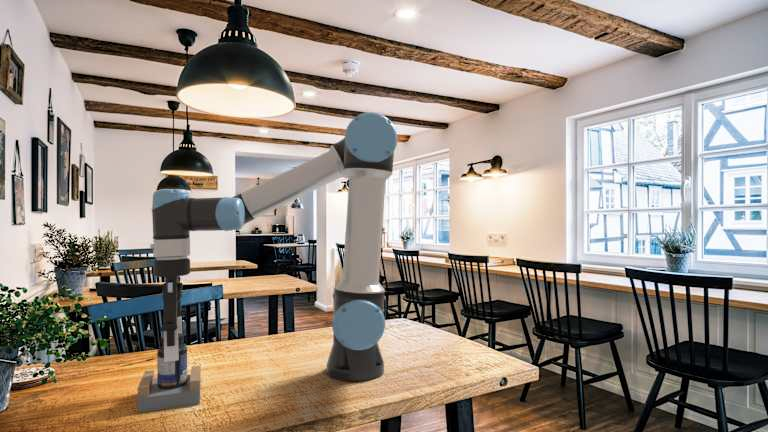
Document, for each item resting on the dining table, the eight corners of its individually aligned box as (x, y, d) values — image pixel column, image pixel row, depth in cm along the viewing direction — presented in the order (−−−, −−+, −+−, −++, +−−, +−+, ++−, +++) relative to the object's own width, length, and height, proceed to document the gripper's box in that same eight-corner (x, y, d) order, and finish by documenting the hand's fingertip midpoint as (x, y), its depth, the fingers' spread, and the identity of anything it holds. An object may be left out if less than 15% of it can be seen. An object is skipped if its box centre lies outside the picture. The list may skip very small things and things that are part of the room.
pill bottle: (179, 378, 106) (179, 330, 106) (192, 384, 102) (192, 335, 102) (152, 385, 101) (152, 336, 101) (164, 391, 97) (165, 340, 98)
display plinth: (200, 385, 109) (200, 364, 109) (199, 404, 98) (199, 381, 98) (144, 392, 105) (145, 370, 105) (137, 412, 94) (137, 388, 94)
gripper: (159, 255, 112) (160, 341, 112) (146, 263, 89) (148, 371, 89) (191, 253, 115) (193, 337, 115) (187, 261, 92) (189, 366, 92)
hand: (173, 352), depth 102 cm, fingers open, 13 cm apart
